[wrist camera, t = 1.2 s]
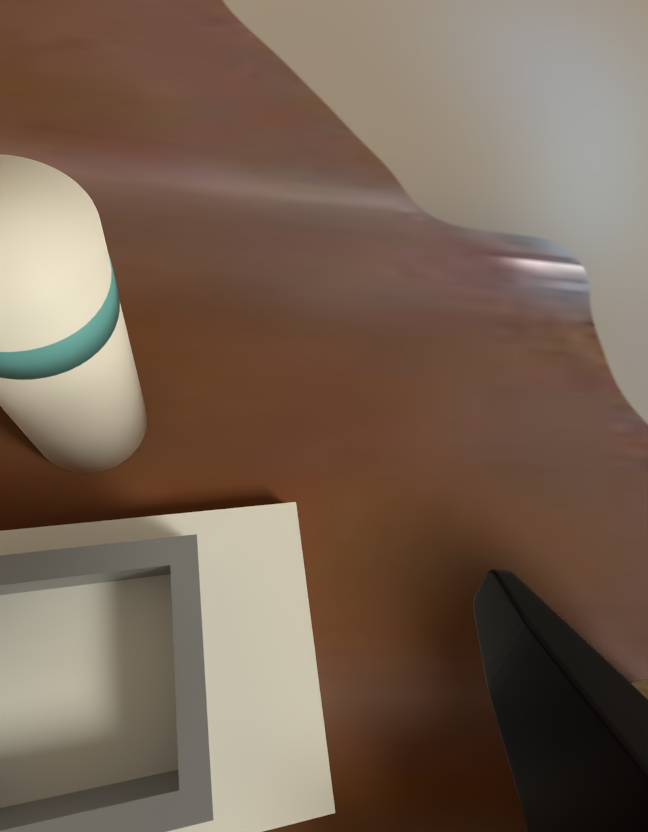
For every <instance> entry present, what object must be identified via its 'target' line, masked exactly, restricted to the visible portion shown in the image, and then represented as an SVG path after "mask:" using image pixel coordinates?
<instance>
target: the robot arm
mask: <svg viewBox="0 0 648 832" xmlns="http://www.w3.org/2000/svg"><path fill="white" fill-rule="evenodd" d="M473 610H474V616H475V622H476V627H477V633H478V639H479V644H480V650H481V655H482V661H483V667H484V672H485V677H486V682H487V687H488V691H489V695H490V698H491V702H492V706H493V709H494V713H495V716H496V720H497V723H498V727H499V730H500V734H501V737H502V741H503V744H504V748H505V752H506V755H507V759H508V762H509V766H510V769H511V773H512V776H513V780H514V783H515V787H516V790H517V794H518V797H519V801H520V805H521V808H522V812H523V815H524V819H525V822H526V826H527V829H528V832H648V699H647V698H646V697H645V696H644V695H643V694H642V693H641V692H640V691H638V690H637V689H636V688H635V687H634V686H633V685H632V684H631V683H630V682H629V681H628V680H627V679H626V678H625V677H624V676H622V675H621V674H620V673H619V672H618V671H617V670H616V669H615V668H614V667H613V666H612V665H611V664H610V663H609V662H608V661H606V660H605V659H604V658H603V657H602V656H601V655H600V654H599V653H598V652H597V651H596V650H595V649H594V648H593V647H592V646H590V645H589V644H588V643H587V642H586V641H585V640H584V639H583V638H582V637H581V636H580V635H579V634H578V633H577V632H576V631H574V630H573V629H572V628H571V627H570V626H569V625H568V624H567V623H566V622H565V621H564V620H563V619H562V618H561V617H560V616H558V615H557V614H556V613H555V612H554V611H553V610H552V609H551V608H550V607H549V606H548V605H547V604H546V603H545V602H543V601H542V600H541V599H540V598H539V597H538V596H537V595H536V594H535V593H534V592H533V591H532V590H531V589H530V588H529V587H527V586H526V585H525V584H524V583H523V582H522V581H521V580H520V579H519V578H518V577H517V576H516V575H515V574H513V573H512V572H510V571H505V570H494V569H493V570H490V571H489V572H487V574H486V576H485V578H484V579H483V581H482V583H481V585H480V587H479V589H478V591H477V593H476V595H475V597H474V601H473Z"/></svg>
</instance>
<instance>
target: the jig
mask: <svg viewBox="0 0 648 832" xmlns="http://www.w3.org/2000/svg"><path fill="white" fill-rule="evenodd" d="M334 813H335V806H334V798H333V790H332V782H331V775H330V767H329V759H328V751H327V743H326V735H325V727H324V720H323V712H322V704H321V696H320V688H319V680H318V672H317V664H316V657H315V649H314V641H313V633H312V625H311V617H310V609H309V602H308V594H307V586H306V578H305V570H304V562H303V554H302V547H301V539H300V531H299V523H298V515H297V507H296V502H291V503H281V504H271V505H260V506H250V507H240V508H230V509H219V510H209V511H199V512H189V513H178V514H168V515H158V516H148V517H137V518H127V519H117V520H107V521H96V522H86V523H76V524H66V525H55V526H45V527H35V528H25V529H14V530H4V531H0V832H263V831H267V830H271V829H275V828H279V827H282V826H286V825H290V824H294V823H298V822H302V821H306V820H310V819H314V818H318V817H322V816H326V815H330V814H334Z"/></svg>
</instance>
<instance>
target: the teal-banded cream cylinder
mask: <svg viewBox="0 0 648 832" xmlns="http://www.w3.org/2000/svg"><path fill="white" fill-rule="evenodd" d="M0 406H1V407H2V409H3V410H4V411H5V412H6V413H7V414H8V415H9V417H10V418H11V419H12V420H13V421H14V422H15V423H16V425H17V426H18V427H19V428H20V429H21V430H22V432H23V433H24V434H25V435H26V436H27V437H28V438H29V440H30V441H31V442H32V443H33V444H34V445H35V446H36V448H37V449H38V450H39V451H40V452H41V453H42V455H43V456H44V457H45V458H46V459H47V460H48V461H50V462H51V463H52V464H54V465H56V466H57V467H59V468H62V469H64V470H67V471H70V472H75V473H96V472H102V471H105V470H108V469H111V468H113V467H115V466H117V465H119V464H121V463H122V462H124V461H125V460H126V459H128V458H129V457H130V456H131V455H132V454H133V453H134V452H135V451H136V449H137V448H138V447H139V445H140V444H141V442H142V440H143V438H144V435H145V432H146V427H147V414H146V409H145V404H144V400H143V396H142V392H141V388H140V384H139V379H138V375H137V371H136V367H135V363H134V359H133V355H132V350H131V346H130V342H129V338H128V334H127V330H126V325H125V321H124V317H123V313H122V309H121V305H120V300H119V294H118V289H117V285H116V281H115V277H114V273H113V268H112V264H111V260H110V257H109V254H108V251H107V246H106V242H105V238H104V234H103V230H102V226H101V221H100V218H99V215H98V212H97V209H96V207H95V205H94V203H93V201H92V200H91V198H90V197H89V196H88V194H87V193H86V192H85V191H84V190H83V189H82V188H81V187H80V186H79V184H77V183H76V182H75V181H74V180H72V179H71V178H70V177H69V176H67V175H65V174H64V173H62V172H60V171H59V170H57V169H55V168H53V167H51V166H48V165H46V164H43V163H41V162H38V161H35V160H31V159H27V158H23V157H17V156H11V155H0Z"/></svg>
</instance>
